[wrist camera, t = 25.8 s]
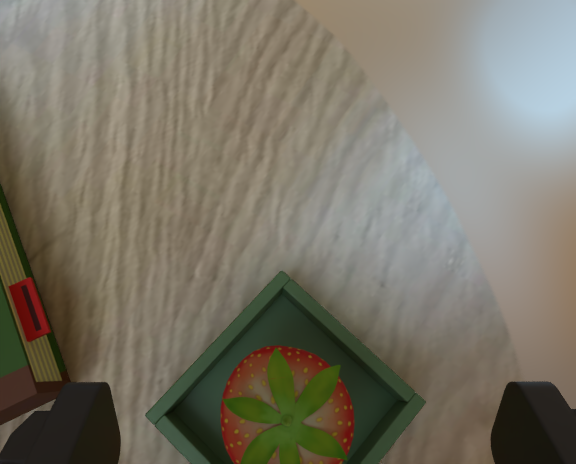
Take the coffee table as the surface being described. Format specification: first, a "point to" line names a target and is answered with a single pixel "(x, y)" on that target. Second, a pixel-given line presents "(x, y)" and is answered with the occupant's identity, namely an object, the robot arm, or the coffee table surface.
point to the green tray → (298, 334)
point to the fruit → (286, 409)
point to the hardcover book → (23, 331)
